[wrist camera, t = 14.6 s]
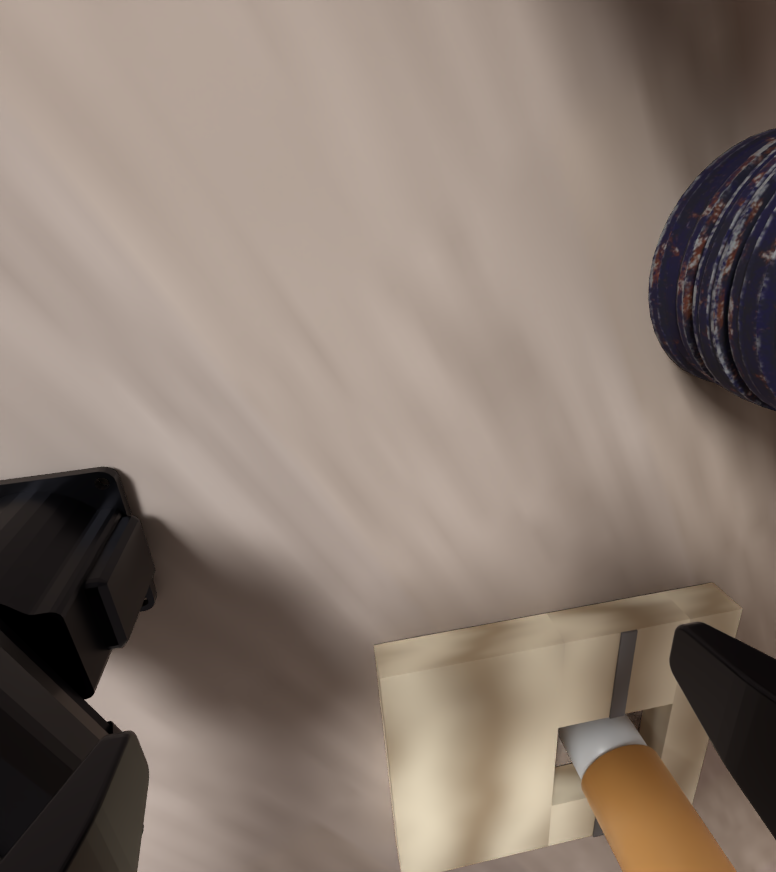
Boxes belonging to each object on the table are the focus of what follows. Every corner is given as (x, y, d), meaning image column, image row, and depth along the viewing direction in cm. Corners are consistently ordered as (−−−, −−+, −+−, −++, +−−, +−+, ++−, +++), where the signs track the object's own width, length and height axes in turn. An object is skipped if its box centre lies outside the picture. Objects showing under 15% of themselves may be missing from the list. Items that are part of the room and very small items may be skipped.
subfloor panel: (396, 842, 32) (402, 883, 30) (373, 645, 25) (380, 680, 23) (668, 779, 34) (691, 813, 32) (712, 582, 27) (744, 610, 25)
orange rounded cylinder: (575, 760, 31) (735, 1069, 20) (542, 725, 30) (696, 1043, 18) (638, 721, 31) (837, 1015, 20) (607, 683, 29) (807, 982, 18)
